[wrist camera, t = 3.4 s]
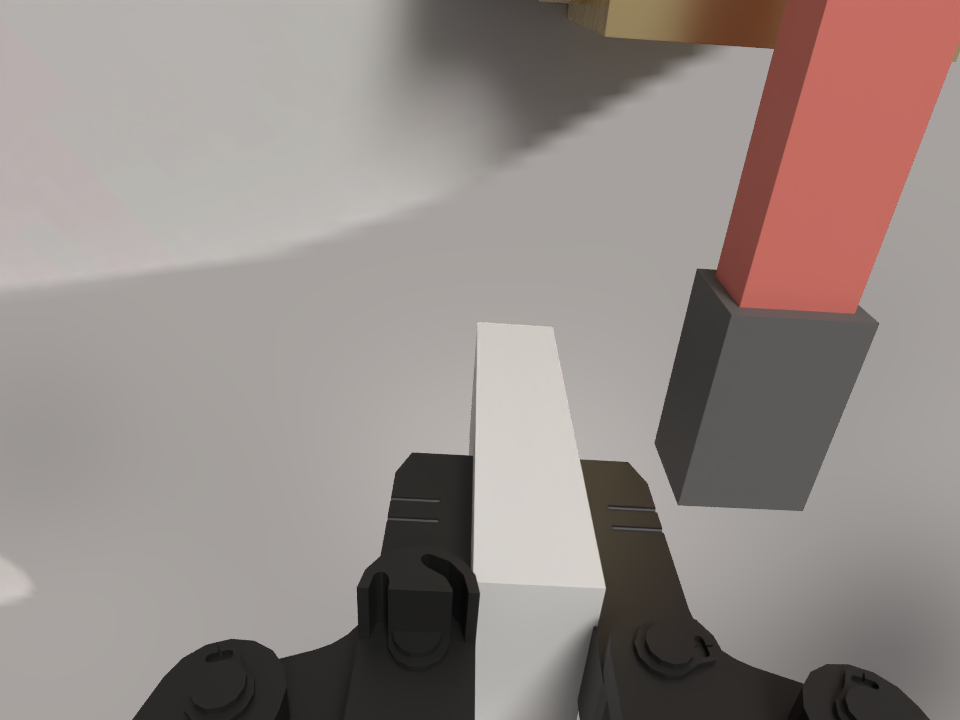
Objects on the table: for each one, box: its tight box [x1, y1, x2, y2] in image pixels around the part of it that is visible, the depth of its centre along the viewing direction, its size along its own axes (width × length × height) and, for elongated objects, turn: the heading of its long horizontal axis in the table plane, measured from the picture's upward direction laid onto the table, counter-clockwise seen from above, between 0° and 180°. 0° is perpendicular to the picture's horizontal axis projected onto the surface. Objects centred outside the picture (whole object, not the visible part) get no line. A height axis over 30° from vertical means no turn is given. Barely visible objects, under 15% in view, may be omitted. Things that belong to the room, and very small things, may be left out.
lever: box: [655, 0, 960, 511], centre depth 13 cm, size 15×4×2 cm, turn 176°
